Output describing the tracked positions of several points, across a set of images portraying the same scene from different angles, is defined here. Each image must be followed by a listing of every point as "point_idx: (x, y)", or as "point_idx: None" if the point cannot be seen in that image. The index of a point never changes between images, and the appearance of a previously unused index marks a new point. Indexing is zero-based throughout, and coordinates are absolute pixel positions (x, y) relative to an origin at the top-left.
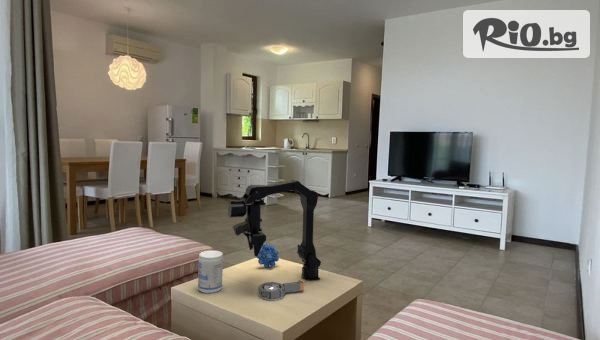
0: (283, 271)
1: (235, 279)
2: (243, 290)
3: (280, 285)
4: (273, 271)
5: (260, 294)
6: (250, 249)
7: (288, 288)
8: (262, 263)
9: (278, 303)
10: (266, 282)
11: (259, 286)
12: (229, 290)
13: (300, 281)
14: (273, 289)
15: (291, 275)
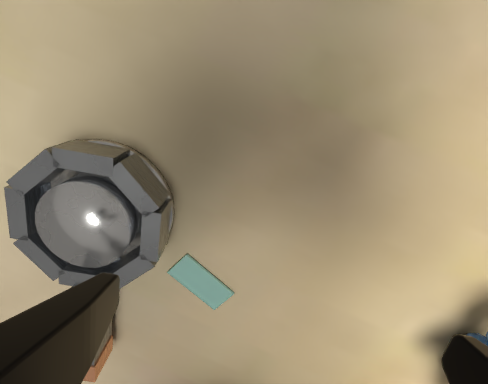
0: (363, 375)
1: (420, 115)
2: (228, 93)
3: (88, 274)
4: (393, 341)
5: (76, 142)
6: (454, 343)
7: None
8: (486, 338)
9: (3, 192)
10: (159, 228)
11: (111, 164)
12: (269, 3)
13: (87, 372)
14: (36, 216)
15: (296, 379)
